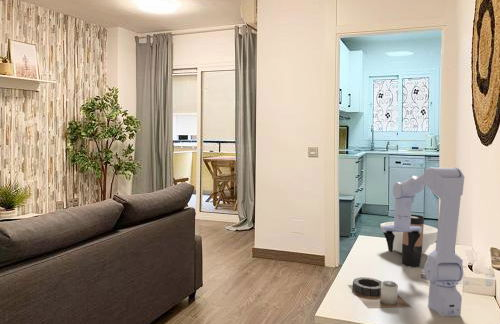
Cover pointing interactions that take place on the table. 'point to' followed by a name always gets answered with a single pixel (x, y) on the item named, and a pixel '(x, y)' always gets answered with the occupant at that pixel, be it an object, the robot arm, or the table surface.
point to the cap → (389, 292)
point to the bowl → (428, 237)
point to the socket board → (378, 303)
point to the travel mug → (415, 256)
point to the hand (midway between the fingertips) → (400, 251)
